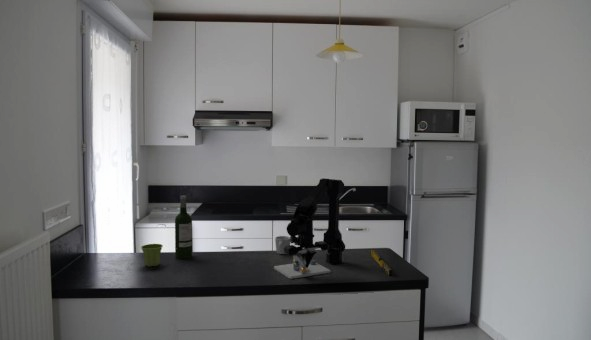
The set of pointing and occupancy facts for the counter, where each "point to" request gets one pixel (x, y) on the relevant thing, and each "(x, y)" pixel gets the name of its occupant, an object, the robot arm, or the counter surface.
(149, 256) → the plant pot
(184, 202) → the wine bottle
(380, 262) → the spirit level
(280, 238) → the cup
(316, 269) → the white mechanism board
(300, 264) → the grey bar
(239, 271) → the counter surface
